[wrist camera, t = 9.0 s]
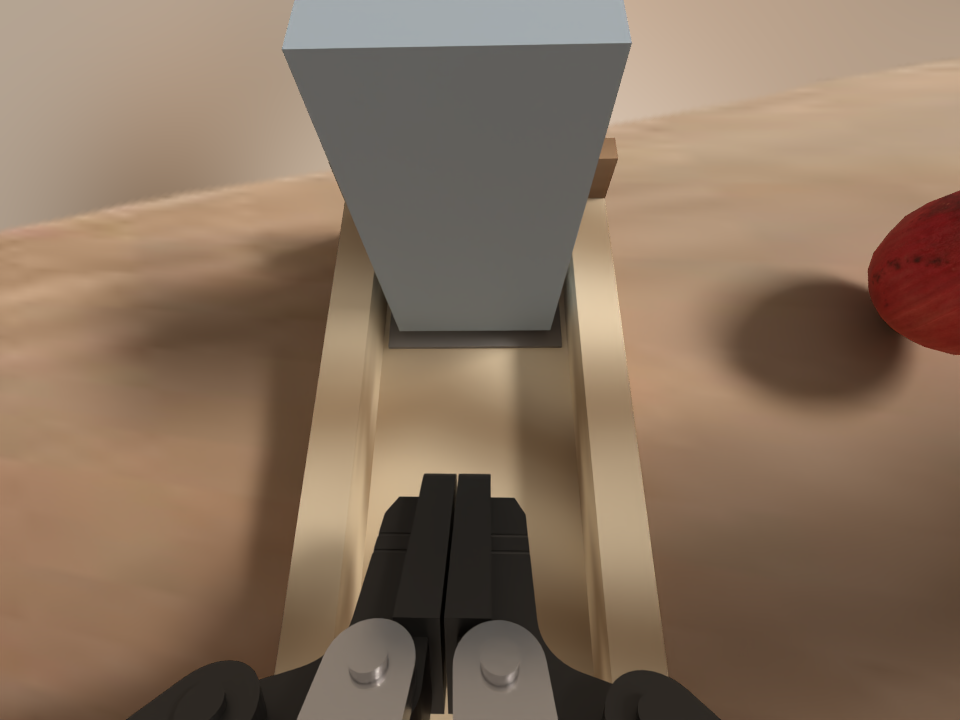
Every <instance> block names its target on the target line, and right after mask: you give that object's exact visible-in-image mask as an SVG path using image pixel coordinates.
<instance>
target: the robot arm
mask: <svg viewBox="0 0 960 720" xmlns="http://www.w3.org/2000/svg"><path fill="white" fill-rule="evenodd" d="M446 688H447V696H448V714H453V720H721V719H720V718H718V717H717V716H716V715H715V714H714V713H713V712H712V711H711V710H709V709H708V708H707V707H706V706H705V705H704V704H703V703H702V702H701V701H699V700H698V699H697V698H696V697H695V696H694V695H693V694H692V693H691V692H689V691H688V690H687V689H686V688H685V687H683V686H682V685H681V684H680V683H678V682H676V681H675V680H673V679H672V678H670V677H668V676H665V675H663V674H661V673H657V672H654V671H648V670H635V671H631V672H627V673H625V674H623V675H621V676H620V677H619V678H617V679H616V680H615V681H614V682H613V684H612V683H609V682H607V681H604V680H601V679H598V678H596V677H593V676H590V675H587V674H585V673H582V672H580V671H577V670H575V669H573V668H571V667H570V666H568V665H566V664H565V663H563V662H562V661H561V660H560V659H558V658H557V657H556V656H555V655H554V654H553V653H552V651H551V650H550V649H549V648H548V646H547V645H546V643H545V642H544V640H543V638H542V636H541V633H540V630H539V627H538V621H537V613H536V604H535V594H534V585H533V576H532V567H531V558H530V549H529V540H528V531H527V521H526V514H525V513H524V511H523V510H522V508H521V507H520V505H519V504H518V502H517V501H516V499H515V498H503V497H491V474H459V476H458V485H457V474H441V473H424V475H423V479H422V484H421V488H420V493H419V497H404V496H399V497H398V499H397V500H396V501H395V502H394V503H393V504H392V505H391V506H390V508H389V509H388V510H387V511H386V512H385V514H384V517H383V520H382V524H381V527H380V530H379V536H378V537H377V540H376V543H375V546H374V552H373V553H372V556H371V559H370V562H369V566H368V569H367V572H366V575H365V579H364V582H363V585H362V588H361V592H360V595H359V598H358V601H357V604H356V608H355V611H354V614H353V617H352V620H351V623H350V625H349V627H348V628H347V629H345V630H344V631H343V632H341V633H340V634H339V635H338V636H337V637H336V638H335V639H334V640H333V641H332V643H331V644H330V646H329V647H328V648H327V650H326V652H325V654H324V655H323V656H321V657H320V658H318V659H317V660H315V661H313V662H311V663H309V664H307V665H304V666H302V667H299V668H296V669H293V670H289V671H286V672H283V673H280V674H276V675H273V676H270V677H267V678H263V679H260V680H258V677H257V675H256V673H255V671H254V670H253V669H252V668H251V667H250V666H248V665H246V664H245V663H242V662H239V661H230V660H228V661H220V662H216V663H211V664H209V665H206V666H204V667H201V668H199V669H197V670H195V671H194V672H192V673H190V674H189V675H187V676H186V677H184V678H183V679H181V680H180V681H179V682H177V683H176V684H174V685H173V686H172V687H170V688H169V689H168V690H166V691H165V692H163V693H162V694H161V695H159V696H158V697H157V698H155V699H154V700H152V701H151V702H150V703H148V704H147V705H146V706H144V707H143V708H141V709H140V710H139V711H137V712H136V713H135V714H133V715H132V716H130V717H129V718H128V719H126V720H430V714H444V712H445V700H446Z"/></svg>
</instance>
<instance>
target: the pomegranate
mask: <svg viewBox="0 0 960 720" xmlns="http://www.w3.org/2000/svg"><path fill="white" fill-rule="evenodd" d="M868 288H869V294H870V297H871V301H872V303H873V304H874V306H875V308H876V310H877V312H878V313H879V315H880V317H881V318H882V319H883V320H884V321H885V322H886V323H887V324H888V326H889V327H890V328H892V329H894V330H895V331H896V332H898V333H899V334H901V335H903V336H905V337H906V338H908V339H910V340H911V341H913V342H915V343H917V344H919V345H922V346H924V347H927V348H931V349H934V350H938V351H942V352H945V353H949V354H953V355H960V191H957V192H955V193H952V194H950V195H947V196H944V197H942V198H939V199H937V200H934V201H932V202H929V203H927V204H925V205H924V206H922V207H920V208H919V209H917V210H915V211H913V212H912V213H910V214H908V215H907V216H905V217H904V218H903V219H902V220H901V221H900V222H899V223H898V224H897V225H896V226H895V227H894V228H893V229H892V230H891V231H890V232H889V233H888V235H887V236H886V237H885V239H884V240H883V241H882V243H881V244H880V245H879V246H878V248H877V249H876V250H875V252H874V253H873V256H872V259H871V262H870V265H869V268H868Z"/></svg>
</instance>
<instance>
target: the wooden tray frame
mask: <svg viewBox="0 0 960 720" xmlns="http://www.w3.org/2000/svg"><path fill="white" fill-rule="evenodd" d="M617 160H618V155H617V148H616V142H615V138H605V139H604V143H603V146H602V150H601V153H600V157H599V160H598V164H597V167H596V171H595V174H594V178H593V181H592V185H591V188H590V192H589V195H588V199H587V202H586V206H585V210H584V213H583V217H582V220H581V224H580V227H579V231H578V234H577V238H576V241H575V245H574V248H573V252H572V255H571V259H570V262H569V266H568V269H567V273H566V276H565V280H564V284H563V287H562V291H561V294H560V298H559V301H558V305H557V308H556V312H555V315H554V319H553V322H552V326H551V329H550V330H511V331H399V328H398V326H397V324H396V321H395V319H394V317H393V314H392V312H391V309H390V307H389V305H388V302H387V300H386V297H385V295H384V293H383V290H382V288H381V285H380V283H379V281H378V278H377V276H376V273H375V271H374V269H373V266H372V264H371V261H370V259H369V257H368V254H367V252H366V249H365V247H364V245H363V242H362V240H361V238H360V235H359V233H358V230H357V228H356V226H355V223H354V221H353V218H352V216H351V214H350V211H349V209H348V206H347V204H346V202H345V204H344V211H343V218H342V224H341V231H340V238H339V245H338V251H337V258H336V265H335V271H334V278H333V285H332V291H331V298H330V305H329V312H328V318H327V325H326V332H325V338H324V345H323V352H322V359H321V365H320V372H319V379H318V385H317V392H316V399H315V405H314V412H313V419H312V426H311V432H310V439H309V446H308V452H307V459H306V466H305V473H304V479H303V486H302V493H301V499H300V506H299V513H298V520H297V526H296V533H295V540H294V546H293V553H292V560H291V566H290V573H289V580H288V587H287V593H286V600H285V607H284V613H283V620H282V627H281V634H280V640H279V647H278V654H277V660H276V667H275V674H274V675H276V674H280V673H283V672H286V671H289V670H293V669H296V668H299V667H302V666H304V665H307V664H309V663H311V662H313V661H315V660H317V659H318V658H320V657H321V656H323V655H324V654H325V652H326V650H327V648H328V647H329V646H330V644H331V643H332V641H333V640H334V639H335V638H336V637H337V636H338V635H339V634H340V633H341V632H343V631H344V630H345V629H347V628H348V627H349V625H350V623H351V620H352V617H353V614H354V611H355V608H356V604H357V601H358V598H359V595H360V592H361V588H362V585H363V582H364V579H365V575H366V572H367V569H368V566H369V562H370V559H371V556H372V553H373V552H374V546H375V543H376V540H377V537H378V536H379V530H380V527H381V524H382V520H383V517H384V514H385V512H386V511H387V510H388V509H389V508H390V506H391V505H392V504H393V503H394V502H395V501H396V500H397V499H398V497H399V496H404V497H419V493H420V488H421V484H422V479H423V475H424V473H441V474H457V485H458V476H459V474H491V497H503V498H515V499H516V501H517V502H518V504H519V505H520V507H521V508H522V510H523V511H524V513H525V514H526V521H527V531H528V540H529V549H530V558H531V567H532V576H533V585H534V594H535V604H536V613H537V621H538V627H539V630H540V633H541V636H542V638H543V640H544V642H545V643H546V645H547V646H548V648H549V649H550V650H551V651H552V653H553V654H554V655H555V656H556V657H557V658H558V659H560V660H561V661H562V662H563V663H565V664H566V665H568V666H570V667H571V668H573V669H575V670H577V671H580V672H582V673H585V674H587V675H590V676H593V677H596V678H598V679H601V680H604V681H607V682H609V683H612V684H613V682H614V681H615V680H616V679H617V678H619V677H620V676H621V675H623V674H625V673H627V672H631V671H635V670H648V671H654V672H657V673H661V674H663V675H665V676H668V668H667V661H666V653H665V646H664V638H663V631H662V623H661V616H660V608H659V601H658V593H657V586H656V578H655V571H654V563H653V556H652V548H651V541H650V533H649V526H648V518H647V511H646V503H645V496H644V488H643V481H642V473H641V466H640V458H639V451H638V443H637V436H636V428H635V421H634V413H633V406H632V398H631V391H630V383H629V376H628V368H627V361H626V353H625V346H624V338H623V331H622V323H621V316H620V308H619V301H618V293H617V286H616V278H615V271H614V263H613V256H612V248H611V241H610V233H609V226H608V218H607V211H606V203H605V196H606V193H607V190H608V187H609V184H610V181H611V178H612V175H613V172H614V169H615V166H616V163H617ZM329 164H330V163H329ZM330 167H331V166H330ZM331 169H332V168H331ZM332 172H333V170H332ZM333 174H334V173H333ZM334 176H335V175H334ZM335 179H336V178H335ZM336 181H337V180H336ZM337 184H338V182H337ZM338 186H339V185H338ZM339 188H340V187H339ZM340 191H341V190H340ZM341 193H342V192H341ZM342 195H343V194H342ZM343 198H344V197H343ZM344 200H345V199H344ZM668 677H669V676H668ZM430 720H453V714H448V696H447V688H446V700H445V712H444V714H430Z"/></svg>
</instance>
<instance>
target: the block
mask: <svg viewBox="0 0 960 720" xmlns="http://www.w3.org/2000/svg"><path fill="white" fill-rule="evenodd" d="M631 44H632V42H631V37H630V31H629V26H628V21H627V16H626V11H625V6H624V1H623V0H295V1H294V5H293V8H292V12H291V16H290V20H289V24H288V28H287V32H286V35H285V39H284V43H283V47H282V51H283V53H284V56H285V58H286V60H287V63H288V65H289V68H290V70H291V72H292V75H293V77H294V79H295V82H296V84H297V86H298V89H299V91H300V94H301V96H302V98H303V101H304V103H305V106H306V108H307V111H308V113H309V115H310V118H311V120H312V123H313V125H314V127H315V130H316V132H317V135H318V137H319V139H320V142H321V144H322V147H323V149H324V151H325V154H326V156H327V158H328V161H329V163H330V166H331V168H332V170H333V173H334V175H335V178H336V180H337V182H338V185H339V187H340V190H341V192H342V194H343V197H344V199H345V202H346V204H347V206H348V209H349V211H350V214H351V216H352V218H353V221H354V223H355V226H356V228H357V230H358V233H359V235H360V238H361V240H362V242H363V245H364V247H365V249H366V252H367V254H368V257H369V259H370V261H371V264H372V266H373V269H374V271H375V273H376V276H377V278H378V281H379V283H380V285H381V288H382V290H383V293H384V295H385V297H386V300H387V302H388V305H389V307H390V309H391V312H392V314H393V317H394V319H395V321H396V324H397V326H398V328H399V331H511V330H550V329H551V326H552V322H553V319H554V315H555V312H556V308H557V305H558V301H559V298H560V294H561V291H562V287H563V284H564V280H565V276H566V273H567V269H568V266H569V262H570V259H571V255H572V252H573V248H574V245H575V241H576V238H577V234H578V231H579V227H580V224H581V220H582V217H583V213H584V210H585V206H586V202H587V199H588V195H589V192H590V188H591V185H592V181H593V178H594V174H595V171H596V167H597V164H598V160H599V157H600V153H601V150H602V146H603V143H604V139H605V135H606V132H607V128H608V125H609V121H610V118H611V114H612V111H613V107H614V104H615V100H616V97H617V93H618V90H619V86H620V83H621V79H622V75H623V72H624V69H625V65H626V61H627V58H628V54H629V51H630V47H631Z"/></svg>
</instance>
